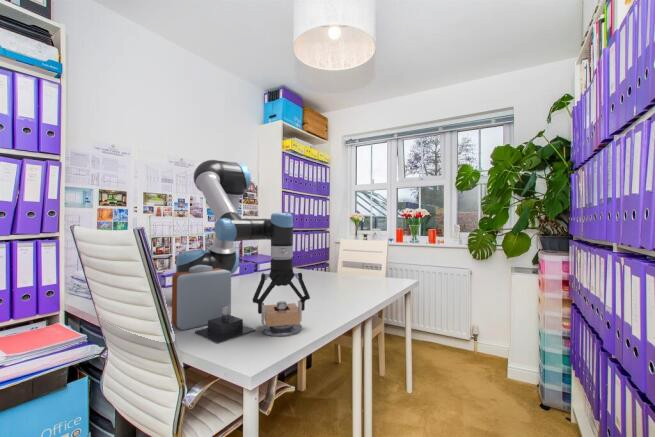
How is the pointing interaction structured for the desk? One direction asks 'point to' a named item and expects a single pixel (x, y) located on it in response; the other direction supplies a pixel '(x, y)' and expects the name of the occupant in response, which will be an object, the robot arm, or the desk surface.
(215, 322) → the stand
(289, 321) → the brown square ring block
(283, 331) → the hub
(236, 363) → the desk surface
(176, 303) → the grey rounded upright slab
